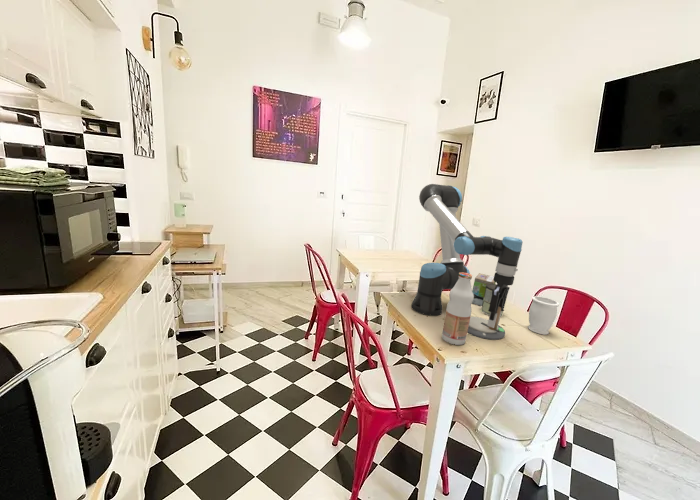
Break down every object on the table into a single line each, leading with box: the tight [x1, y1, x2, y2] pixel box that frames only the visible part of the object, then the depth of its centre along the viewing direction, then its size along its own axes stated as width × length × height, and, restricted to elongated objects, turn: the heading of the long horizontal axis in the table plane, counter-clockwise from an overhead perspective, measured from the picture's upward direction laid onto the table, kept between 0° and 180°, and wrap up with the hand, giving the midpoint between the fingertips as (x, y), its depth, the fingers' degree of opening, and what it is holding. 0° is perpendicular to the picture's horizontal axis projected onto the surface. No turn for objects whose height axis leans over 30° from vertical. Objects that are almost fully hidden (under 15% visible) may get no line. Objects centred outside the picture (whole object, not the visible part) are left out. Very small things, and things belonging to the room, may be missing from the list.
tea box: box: [472, 273, 497, 307], centre depth 173 cm, size 15×10×15 cm
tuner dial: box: [469, 307, 501, 333], centre depth 136 cm, size 16×14×11 cm
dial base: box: [467, 324, 506, 341], centre depth 138 cm, size 20×20×1 cm
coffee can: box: [480, 283, 504, 318], centre depth 158 cm, size 10×10×14 cm
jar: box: [527, 295, 560, 336], centre depth 141 cm, size 11×10×15 cm
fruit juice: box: [441, 272, 474, 346], centre depth 122 cm, size 9×9×28 cm
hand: (492, 325), depth 133 cm, fingers open, 4 cm apart
